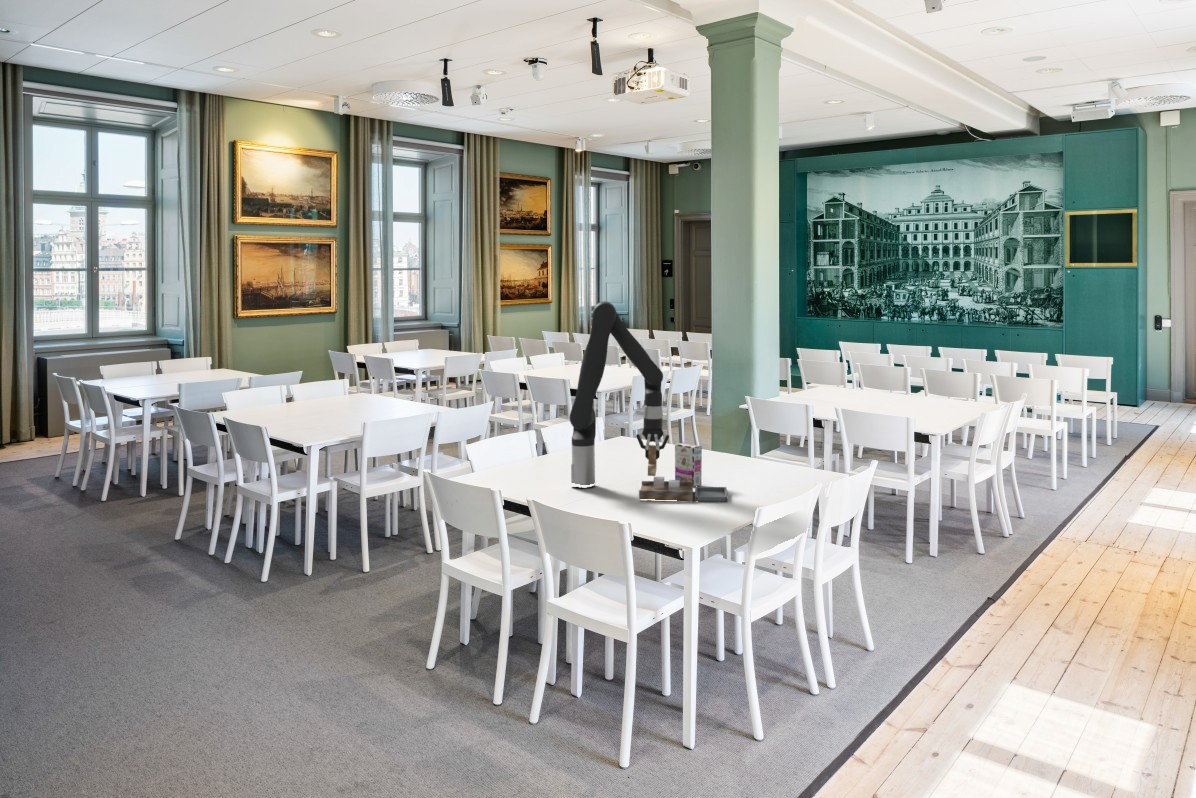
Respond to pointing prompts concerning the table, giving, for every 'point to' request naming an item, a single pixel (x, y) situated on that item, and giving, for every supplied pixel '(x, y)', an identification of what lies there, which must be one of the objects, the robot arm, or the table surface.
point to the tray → (711, 494)
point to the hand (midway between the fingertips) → (652, 458)
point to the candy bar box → (688, 463)
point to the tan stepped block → (652, 461)
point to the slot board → (666, 491)
